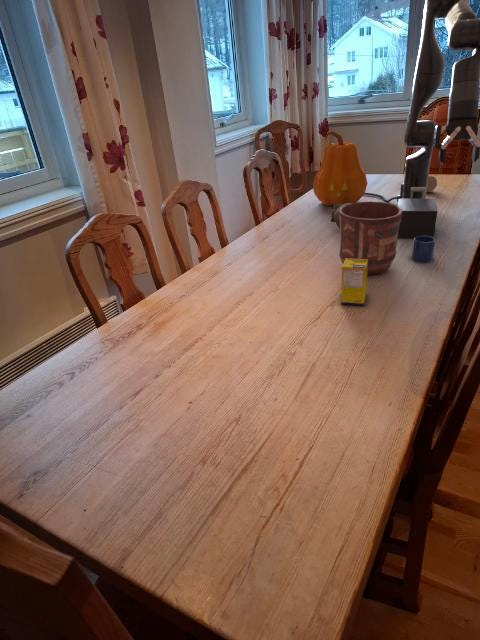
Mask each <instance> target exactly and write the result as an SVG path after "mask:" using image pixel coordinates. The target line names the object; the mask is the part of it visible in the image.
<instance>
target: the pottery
mask: <svg viewBox="0 0 480 640" xmlns="http://www.w3.org/2000/svg"><path fill="white" fill-rule="evenodd" d="M401 218H402V209H401V208H400V207H398V205H396V204H393V203H390V202H385V201H357V202H355V203H352V204H349V205H346V206H343V207H342V208H341V209H340V210H339V220H340V229H339V245H338V246H339V250H338V251H339V253H338V254H339V260H340V261H341V263H342V265H343V264H344V261H345V258H350V259H368V269H367V276H374V275H375V276H376V275H379V274H381V273H384V272H385V271H387V269H389V268H390V267H391V265H392V263H393V262H394V260H395V259H396V255H397V247H398V238H397V237H398V232H399V226H400V222H401Z"/></svg>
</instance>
